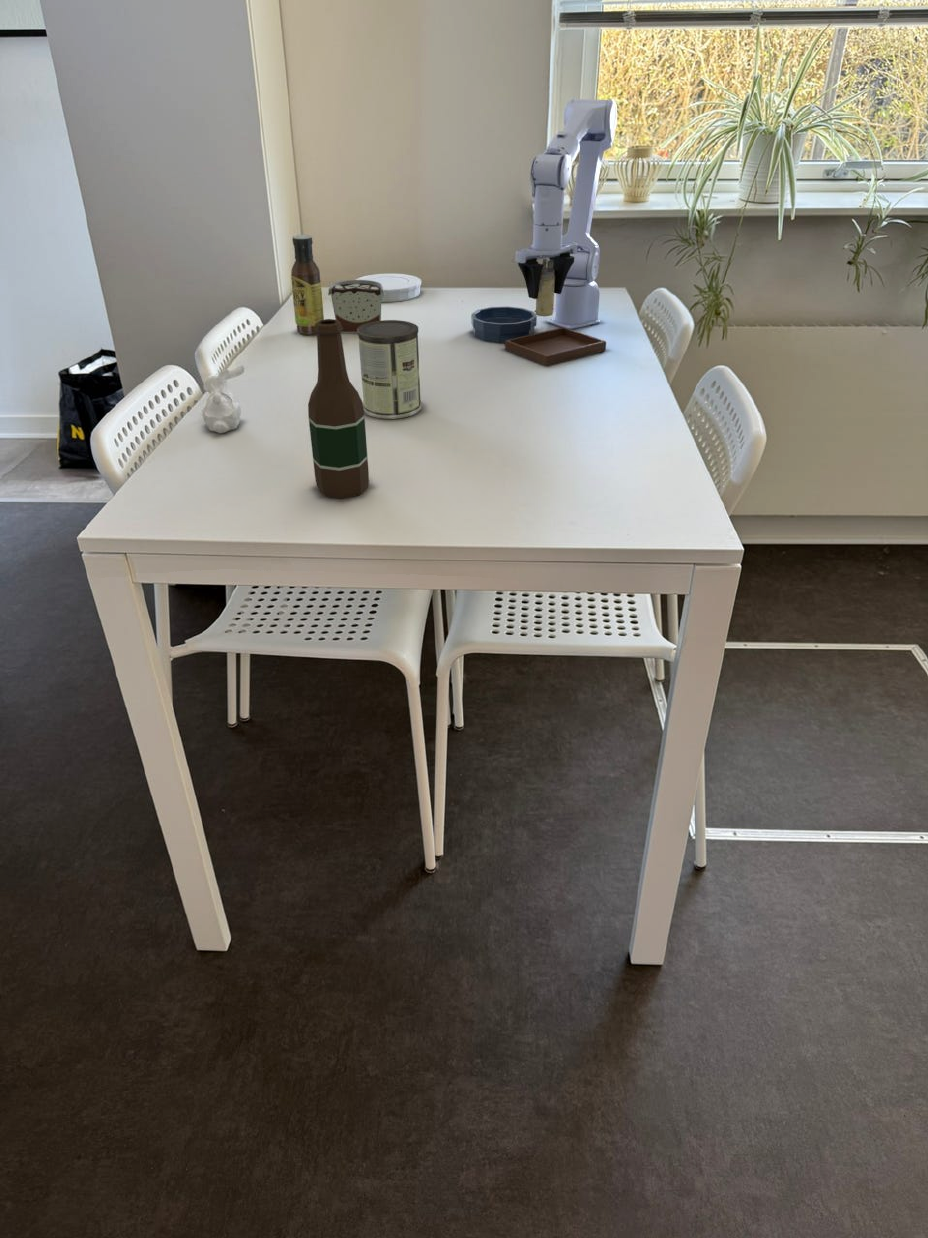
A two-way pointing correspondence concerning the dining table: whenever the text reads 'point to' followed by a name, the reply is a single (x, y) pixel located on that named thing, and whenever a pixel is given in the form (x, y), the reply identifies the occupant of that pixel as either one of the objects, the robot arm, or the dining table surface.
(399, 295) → the lid
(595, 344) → the tray
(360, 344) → the coffee can
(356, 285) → the food container
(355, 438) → the beer bottle
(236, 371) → the rabbit figurine
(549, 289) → the beige tall upright piece
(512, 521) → the dining table surface
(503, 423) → the dining table surface
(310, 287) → the sauce bottle
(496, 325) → the bowl
